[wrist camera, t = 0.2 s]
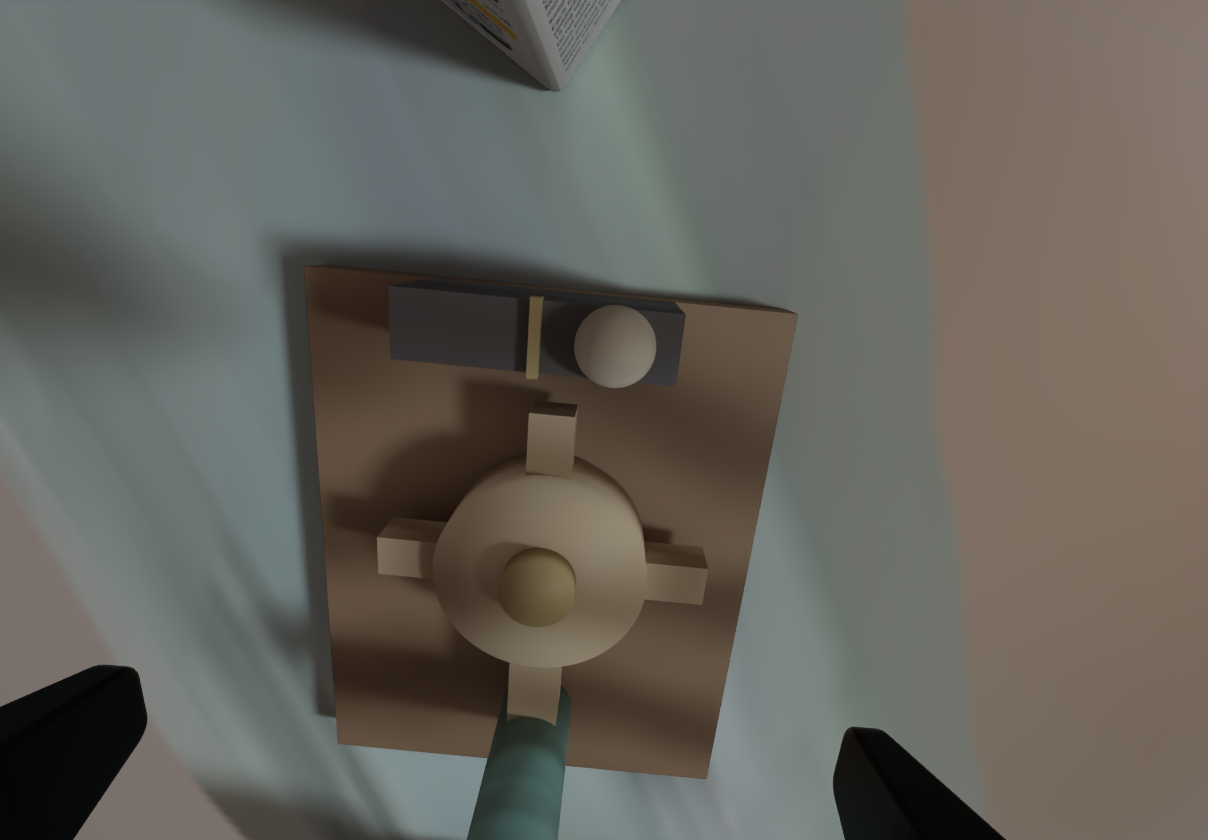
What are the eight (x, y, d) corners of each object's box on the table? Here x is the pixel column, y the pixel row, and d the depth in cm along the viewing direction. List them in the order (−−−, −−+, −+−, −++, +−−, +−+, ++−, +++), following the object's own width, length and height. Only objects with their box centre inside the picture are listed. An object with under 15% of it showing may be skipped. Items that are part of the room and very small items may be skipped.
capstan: (395, 382, 19) (284, 452, 13) (721, 414, 19) (770, 499, 13) (403, 718, 23) (324, 891, 17) (666, 743, 23) (684, 926, 17)
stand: (702, 754, 25) (725, 898, 20) (350, 720, 25) (274, 855, 20) (788, 306, 19) (856, 333, 14) (322, 261, 19) (201, 270, 14)
